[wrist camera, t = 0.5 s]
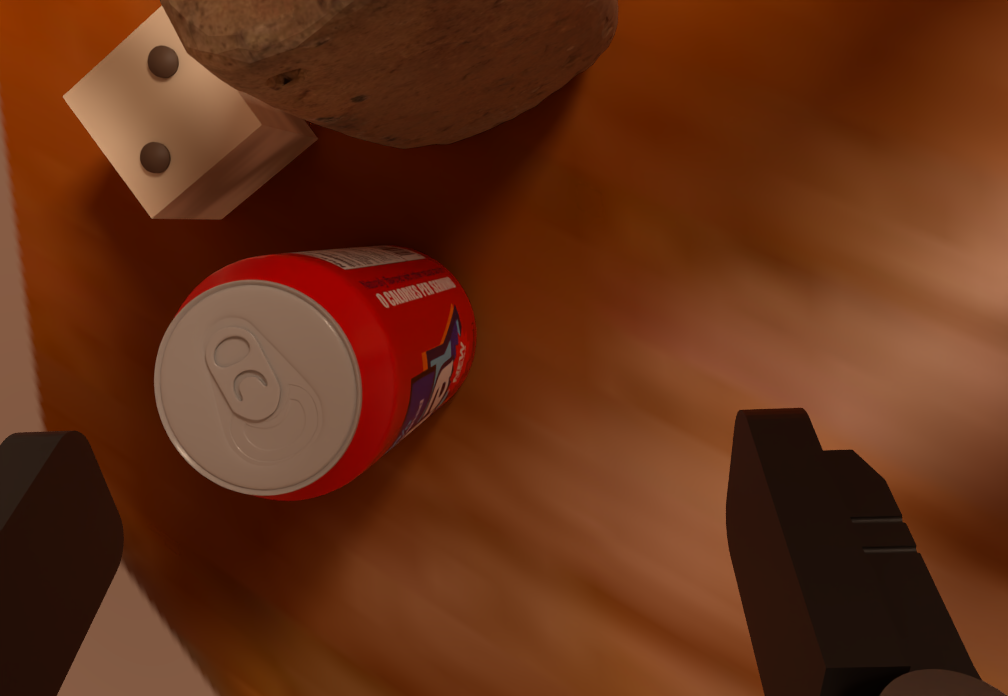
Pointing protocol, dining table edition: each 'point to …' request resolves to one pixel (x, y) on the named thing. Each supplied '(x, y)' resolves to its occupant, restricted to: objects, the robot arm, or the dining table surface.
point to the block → (397, 59)
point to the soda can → (310, 365)
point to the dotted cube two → (182, 127)
